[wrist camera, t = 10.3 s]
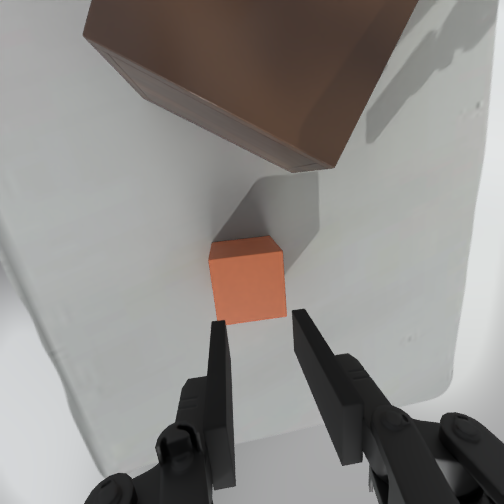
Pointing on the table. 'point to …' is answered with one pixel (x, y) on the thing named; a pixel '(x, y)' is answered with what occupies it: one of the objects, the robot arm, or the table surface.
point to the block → (247, 279)
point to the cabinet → (255, 66)
